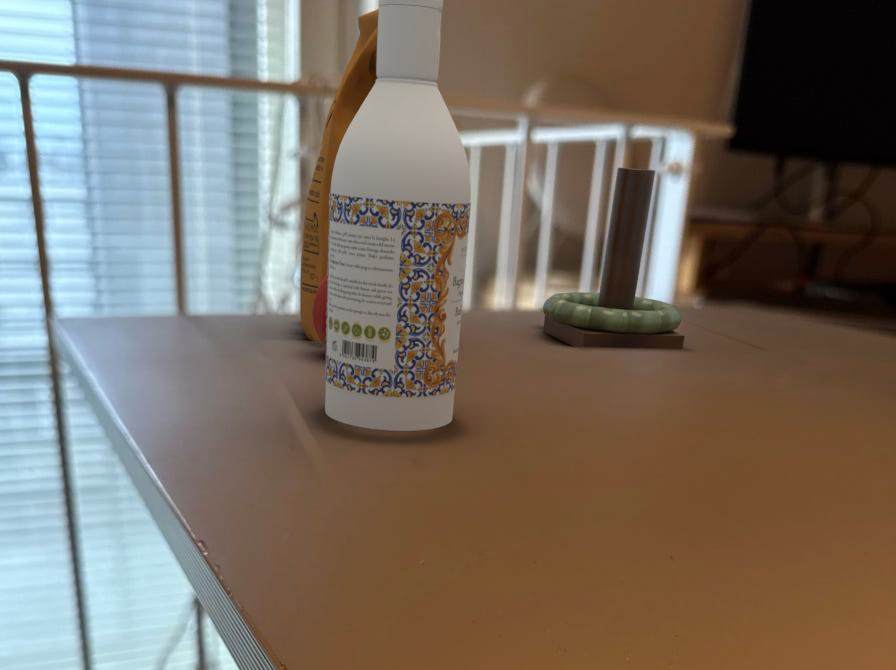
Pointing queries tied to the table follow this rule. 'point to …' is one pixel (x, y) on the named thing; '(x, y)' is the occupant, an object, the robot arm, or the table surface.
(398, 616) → the table surface
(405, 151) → the bath foam
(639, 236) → the post
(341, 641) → the table surface
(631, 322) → the ring
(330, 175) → the coffee package
